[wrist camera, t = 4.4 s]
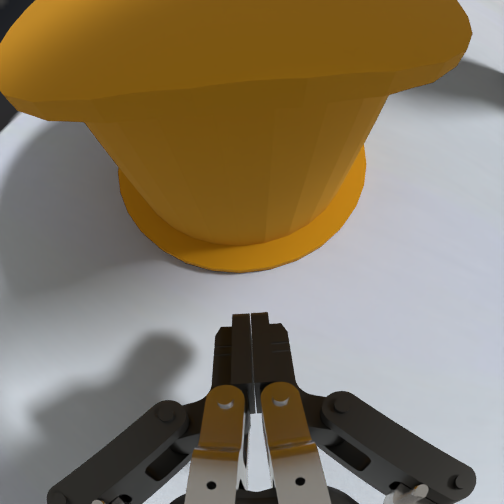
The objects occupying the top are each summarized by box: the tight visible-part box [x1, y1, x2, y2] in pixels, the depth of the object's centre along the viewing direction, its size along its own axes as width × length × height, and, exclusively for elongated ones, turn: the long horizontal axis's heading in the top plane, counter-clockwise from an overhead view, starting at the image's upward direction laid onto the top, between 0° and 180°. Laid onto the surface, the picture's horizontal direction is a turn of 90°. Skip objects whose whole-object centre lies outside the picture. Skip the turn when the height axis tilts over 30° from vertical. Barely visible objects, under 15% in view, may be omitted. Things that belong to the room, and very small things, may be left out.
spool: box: [0, 0, 472, 273], centre depth 13 cm, size 18×18×15 cm
